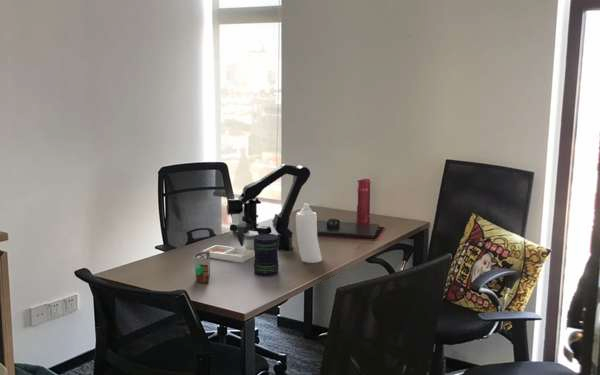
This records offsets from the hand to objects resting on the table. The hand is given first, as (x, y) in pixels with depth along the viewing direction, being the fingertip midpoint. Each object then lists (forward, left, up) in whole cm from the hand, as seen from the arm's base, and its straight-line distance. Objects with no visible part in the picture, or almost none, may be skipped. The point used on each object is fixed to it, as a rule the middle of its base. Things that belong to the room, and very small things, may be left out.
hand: (250, 247), depth 277 cm
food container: (-4, +44, -2) cm, 44 cm away
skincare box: (+20, -24, -2) cm, 31 cm away
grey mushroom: (0, 0, -2) cm, 2 cm away
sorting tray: (+4, +12, -2) cm, 13 cm away
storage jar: (-22, +25, -2) cm, 33 cm away
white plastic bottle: (-30, +2, -2) cm, 30 cm away
